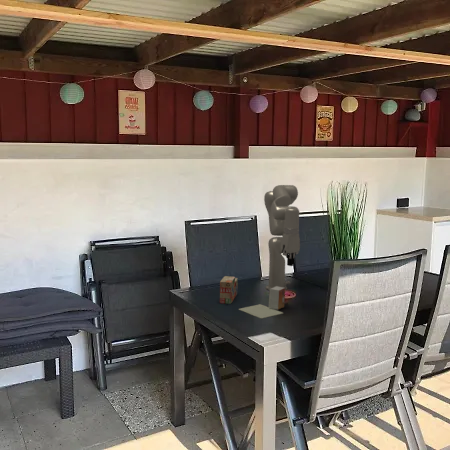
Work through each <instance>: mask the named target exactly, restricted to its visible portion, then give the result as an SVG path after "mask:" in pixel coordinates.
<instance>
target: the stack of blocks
mask: <svg viewBox="0 0 450 450" xmlns="http://www.w3.org/2000/svg"><path fill="white" fill-rule="evenodd" d="M238 280H239V278H238V277H235V276H227V275H225V276H223V277H222V279H221V280H220V281H219V304H228V305H231V304H232V303H233V301H234V300H235V298H236V297H237V295H238V290H239V289H238V288H239V287H238V286H239V283H238Z"/></svg>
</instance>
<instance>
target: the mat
mask: <svg viewBox="0 0 450 450" xmlns="http://www.w3.org/2000/svg"><path fill="white" fill-rule="evenodd" d="M238 310H239V311H241V312H244V313H246V314H248V315H251V316H252V317H253V316H254V317H256V318H258V319H261V320H262V319H266V318H270V317H274V316H279V315H283V314H284V312H283V311H279V310H276V309H271V308H269V306H266V305H264V304H260V303H259V304H256V305H251V306H245V307H242V308H241V307H240V308H238Z"/></svg>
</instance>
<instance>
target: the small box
mask: <svg viewBox="0 0 450 450" xmlns="http://www.w3.org/2000/svg"><path fill="white" fill-rule="evenodd" d="M285 299H286V290H285V288H284V287H278V286H276V287H274V288H271V289H270V290H269V296H268V307H269V308H271V309H274V310H277V311H279V310H281V309H283V308H285Z"/></svg>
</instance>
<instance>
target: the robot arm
mask: <svg viewBox="0 0 450 450" xmlns="http://www.w3.org/2000/svg"><path fill="white" fill-rule="evenodd" d="M298 195H299V192H298V187H296V186H295V185H293V184H280V185H279V184H278V185H276V186H274V187H273V189H272V190H269V191H266V192H265V194H264V198H263V200H264V202H263V203H264V206H265V209H266V211H267V214H268V225H269V232H270V235H272V236H274V237H271V238H270V239H268V242H267V243H268V253H269V264H268V265H269V266H268V267H269V268H268V269H269V271H268V285H266V286H265V289H266V290H267V291H270V289H271V288H274V287H276V286H278V287H284V288H285V291H287V290H288V287H287V285H291V281H290V280H288V281H286V280H285V279H286V265H287V266H289V267H294V262H295V261H294V260H295V258H296V256H297V255H298V254H299V253H300V249H301V239H300V209H299V208H298V207H297V206H290V205H292V204H294V202H295V201H296V200H297V198H298ZM284 256H285V257H286V259H285V257H284Z"/></svg>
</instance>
